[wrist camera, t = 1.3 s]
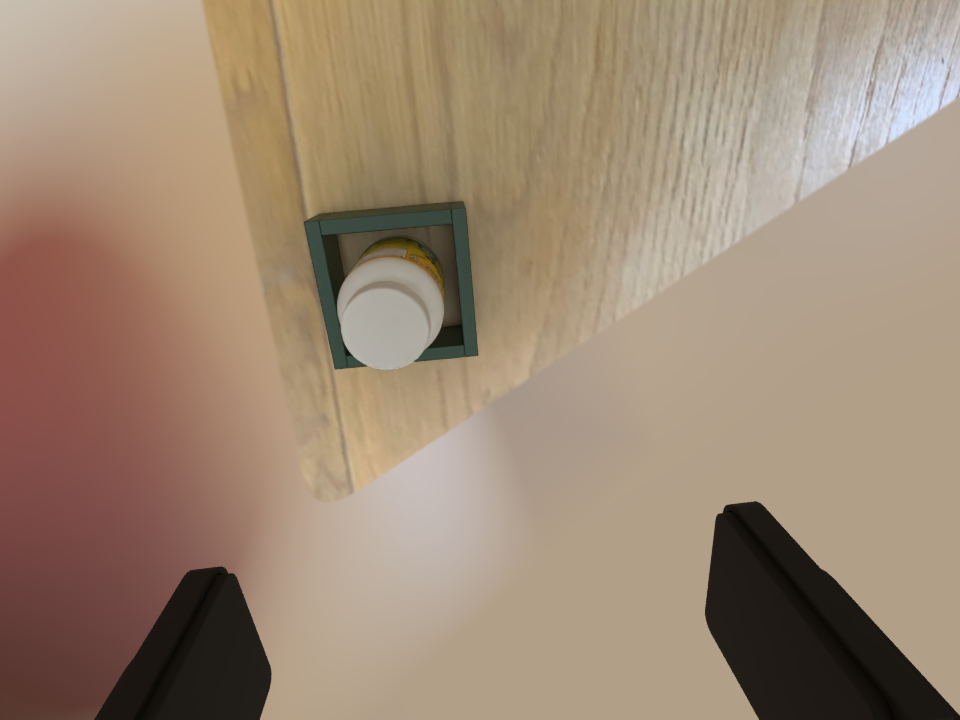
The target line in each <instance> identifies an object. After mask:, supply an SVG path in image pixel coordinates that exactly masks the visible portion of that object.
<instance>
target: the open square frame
mask: <svg viewBox="0 0 960 720" xmlns="http://www.w3.org/2000/svg"><path fill="white" fill-rule="evenodd" d="M449 224H452V226H453V237H454V247H455V257H456V268H457V278H458V289H459V299H460V309H461V320H462V326H455V327H445V328H441V329H440V331H439V333H438V335H437V337H436V338H435V340H434V341H433V342H432V343H431V344H430V345H429V346H428V347H427V348H426V349H425V350H424V351H423V353H422V354H421V355H420V356H419V357H418V358H417V359H416V360H415V361H414V362H418V361H428V360H439V359H449V358H459V357H470V356H478V346H477V334H476V322H475V310H474V299H473V287H472V275H471V263H470V251H469V239H468V228H467V216H466V208H465V205H464V202H463V201H460V202H451V203H437V204H426V205H414V206H402V207H391V208H379V209H368V210H356V211H345V212H333V213H322V214H318V215H316V216H314V217H312V218H311V219H309V220H307V221H305V222H304V226H305V231H306V235H307V240H308V245H309V249H310V254H311V259H312V264H313V268H314V273H315V278H316V282H317V287H318V292H319V297H320V301H321V306H322V311H323V316H324V320H325V325H326V330H327V334H328V339H329V344H330V349H331V353H332V358H333V363H334V368H335V369H344V368H355V367H366V366H367V365H365V364H363V363H361V362H360V361H358V360H357V359H356V358H355V357H354V356H353V355H352V354H351V353H350V352H349V350H348V349H347V347H346V346H345V344H344V341H343V338H342V334H341V325H340V322H339V318H338V313H337V301H338V295H339V292H340V289H341V286H342V284H343V282H344V281H345V279H344V273H343V268H342V263H341V257H340V252H339V247H338V241H337V236H336V234H347V233H358V232H369V231H381V230H392V229H403V228H415V227H426V226H437V225H449Z"/></svg>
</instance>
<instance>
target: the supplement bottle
mask: <svg viewBox="0 0 960 720" xmlns="http://www.w3.org/2000/svg"><path fill="white" fill-rule="evenodd" d="M337 313H338V318H339V322H340V325H341V334H342V338H343V341H344V344H345V346H346V347H347V349H348V350H349V352H350V353H351V354H352V355H353V356H354V357H355V358H356V359H357V360H358V361H360V362H361V363H363V364H365V365H367V366H369V367H372V368H375V369H380V370H394V369H399V368H402V367H405V366H407V365H409V364H411V363H412V362H414V361H415V360H416V359H417V358H418V357H419V356H420V355H421V354H422V353H423V351H424V350H425V349H426V348H427V347H428V346H429V345H430V344H431V343H432V342H433V341H434V340H435V338H436V337H437V335H438V333H439V331H440V329H441V326H442V322H443V317H444V277H443V271H442V267H441V265H440V262H439V260H438V259H437V257H436V256H435V255H434V253H433V252H432V251H431V250H430V249H429V248H427V247H426V246H425V245H424V244H422V243H421V242H419V241H418V240H415V239H413V238H410V237H405V236H392V237H387V238H384V239H381V240H379V241H377V242H376V243H374V244H373V245H371V246H370V247H369V248H368V249H367V250H366V251H365V252H364V254H363V255H362V256H361V258H360V259H359V260H358V262H357V263H356V265H355V266H354V268H353V269H352V271H351V272H350V273H349V275H348V276H347V278H346V279H345V281H344V282H343V284H342V286H341V289H340V292H339V295H338V301H337Z"/></svg>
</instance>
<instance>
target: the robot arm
mask: <svg viewBox="0 0 960 720" xmlns="http://www.w3.org/2000/svg"><path fill="white" fill-rule="evenodd" d="M705 616H706V621H707V625H708V628H709V630H710V632H711V634H712V636H713V638H714V639H715V641H716V643H717V645H718V647H719V648H720V650H721V652H722V654H723V656H724V657H725V659H726V661H727V663H728V665H729V666H730V668H731V670H732V672H733V673H734V675H735V677H736V679H737V681H738V682H739V684H740V686H741V688H742V689H743V691H744V693H745V695H746V697H747V699H748V700H749V702H750V704H751V706H752V707H753V709H754V711H755V713H756V715H757V717H758V718H759V720H960V715H959V714H958V713H957V712H956V711H955V710H954V709H953V708H952V707H951V706H950V705H949V703H948V702H947V701H946V700H945V699H944V698H943V697H942V696H941V695H940V694H939V693H938V691H937V690H936V689H935V688H934V687H933V686H932V685H931V684H930V683H929V682H928V681H927V679H926V678H925V677H924V676H923V675H922V674H921V673H920V672H919V671H918V670H917V669H916V667H915V666H914V665H913V664H912V663H911V662H910V661H909V660H908V659H907V658H906V657H905V655H904V654H903V653H902V652H901V651H900V650H899V649H898V648H897V647H896V646H895V645H894V643H893V642H892V641H891V640H890V639H889V638H888V637H887V636H886V635H885V634H884V633H883V631H882V630H881V629H880V628H879V627H878V626H877V625H876V624H875V623H874V622H873V621H872V620H871V618H870V617H869V616H868V615H867V614H866V613H865V612H864V611H863V610H862V609H861V608H860V606H858V604H857V603H856V602H855V601H854V600H853V599H852V598H851V597H850V596H849V594H848V593H847V592H846V591H845V590H844V589H843V588H842V587H841V586H840V585H839V584H838V582H837V581H836V580H835V579H834V578H833V577H832V576H830V575H829V574H828V573H827V572H826V571H824V570H822V569H820V568H819V566H818V565H816V563H815V562H814V561H813V560H812V559H811V558H810V557H809V556H808V554H807V553H806V552H805V551H804V550H803V549H802V548H801V547H800V545H799V544H798V543H797V542H796V541H795V540H794V539H793V538H792V537H791V536H790V534H789V533H788V532H787V531H786V530H785V529H784V528H783V527H782V526H781V525H780V523H779V522H778V521H777V520H776V519H775V518H774V517H773V516H772V515H771V514H770V512H769V511H767V509H766V508H765V507H764V506H763V505H762V504H761V503H759V502H756V501H755V502H747V503H738V504H730V505H726V506H725V508H724V510H723V513H721V514H718V515H717V517H716V521H715V530H714V539H713V547H712V556H711V564H710V573H709V581H708V590H707V599H706V607H705ZM270 684H271V667H270V664H269V662H268V659H267V656H266V654H265V651H264V648H263V646H262V643H261V640H260V638H259V635H258V632H257V630H256V627H255V624H254V622H253V619H252V617H251V614H250V611H249V609H248V606H247V603H246V601H245V598H244V595H243V593H242V590H241V588H240V585H239V582H238V580H237V577H236V576H235V575H234V574H233V573H230V574H228V572H227V570H226V569H225V568H224V567H213V568H205V569H196V570H190V571H189V572H187V573H186V575H185V576H184V577H183V579H182V580H181V582H180V584H179V585H178V587H177V588H176V590H175V592H174V593H173V595H172V597H171V598H170V600H169V601H168V603H167V605H166V606H165V608H164V610H163V611H162V613H161V615H160V616H159V618H158V619H157V621H156V623H155V625H154V626H153V628H152V629H151V631H150V633H149V634H148V636H147V638H146V639H145V641H144V642H143V644H142V646H141V647H140V649H139V650H138V652H137V654H136V656H135V657H134V659H133V660H132V661H131V662H130V664H129V665H128V666H127V668H126V669H125V671H124V672H123V674H122V675H121V677H120V679H119V680H118V682H117V683H116V685H115V687H114V688H113V690H112V692H111V693H110V695H109V697H108V698H107V700H106V701H105V703H104V705H103V706H102V708H101V710H100V711H99V713H98V714H97V716H96V718H95V719H94V720H260V717H261V714H262V711H263V707H264V704H265V701H266V698H267V695H268V692H269V689H270Z"/></svg>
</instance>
